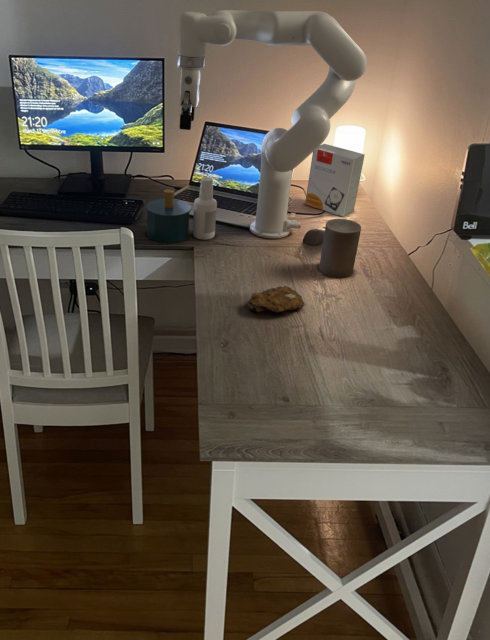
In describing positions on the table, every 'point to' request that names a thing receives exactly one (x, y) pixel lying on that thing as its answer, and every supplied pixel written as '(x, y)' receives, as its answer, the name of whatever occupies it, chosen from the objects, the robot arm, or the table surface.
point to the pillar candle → (339, 247)
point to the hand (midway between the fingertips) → (186, 124)
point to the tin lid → (168, 206)
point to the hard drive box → (334, 179)
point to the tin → (167, 228)
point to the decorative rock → (276, 300)
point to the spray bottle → (205, 211)
